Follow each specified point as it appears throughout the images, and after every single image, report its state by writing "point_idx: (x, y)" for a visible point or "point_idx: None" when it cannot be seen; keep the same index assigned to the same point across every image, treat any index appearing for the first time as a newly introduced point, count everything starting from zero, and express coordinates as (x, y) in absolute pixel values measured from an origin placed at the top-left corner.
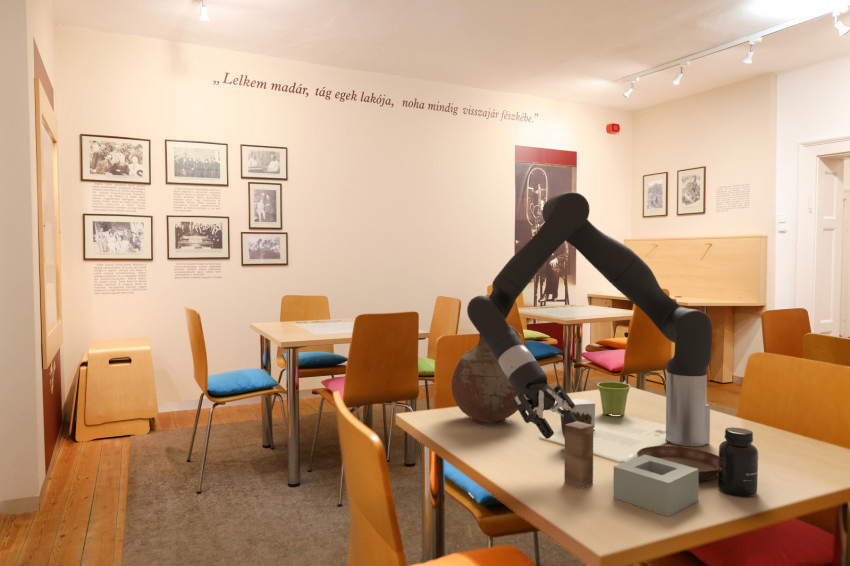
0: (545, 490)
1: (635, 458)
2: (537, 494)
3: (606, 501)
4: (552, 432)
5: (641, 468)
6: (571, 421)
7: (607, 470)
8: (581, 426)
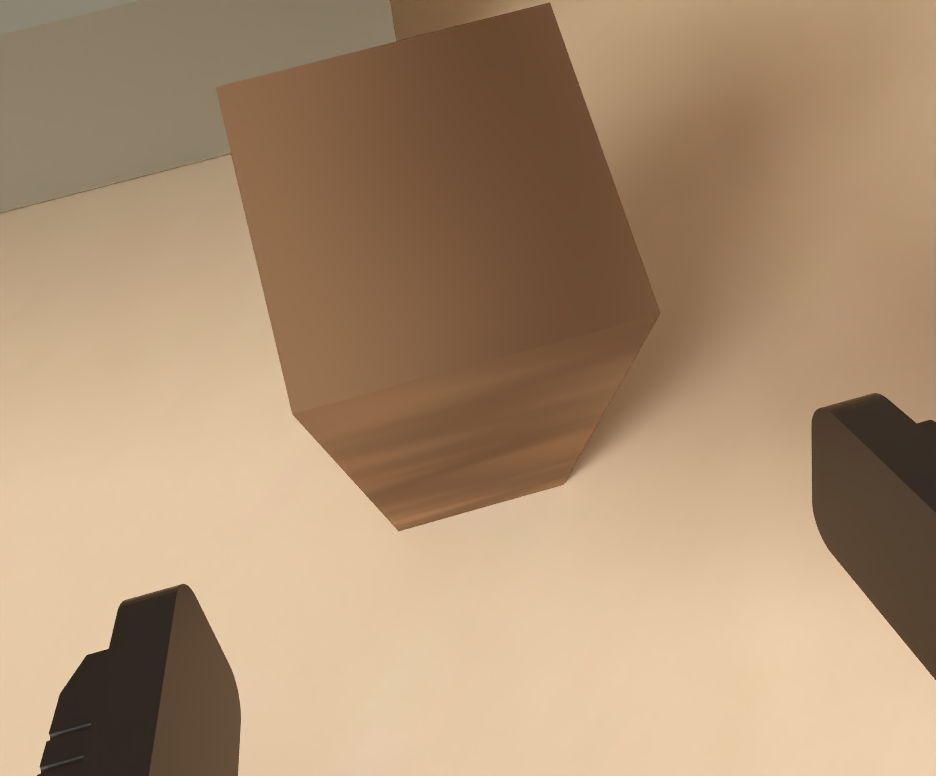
0: (804, 414)
1: (16, 23)
2: (908, 371)
3: None
4: (855, 399)
5: None
6: (190, 733)
7: (4, 581)
8: (456, 103)
